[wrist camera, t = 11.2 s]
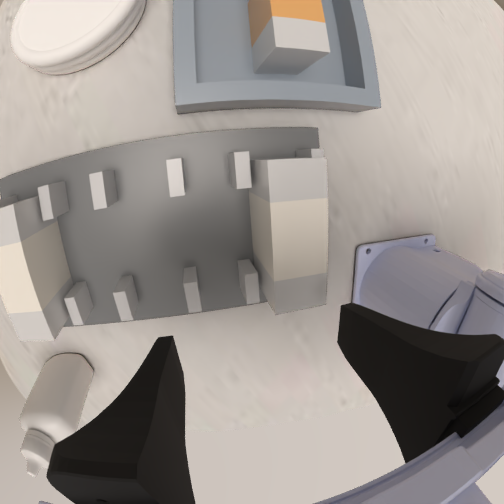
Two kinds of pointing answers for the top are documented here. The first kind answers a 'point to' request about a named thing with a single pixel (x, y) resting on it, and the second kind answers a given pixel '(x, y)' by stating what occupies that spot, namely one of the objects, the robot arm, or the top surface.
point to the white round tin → (71, 32)
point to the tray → (269, 85)
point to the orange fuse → (286, 35)
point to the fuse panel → (158, 221)
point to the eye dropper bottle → (54, 407)
